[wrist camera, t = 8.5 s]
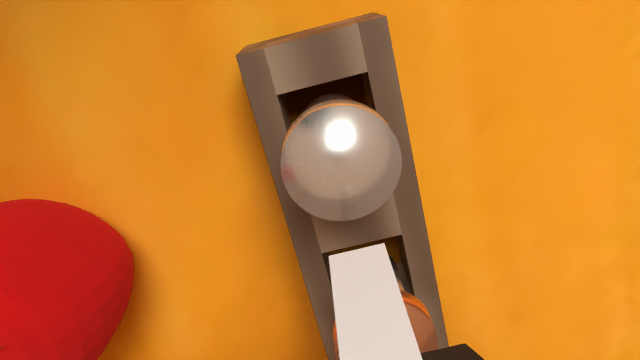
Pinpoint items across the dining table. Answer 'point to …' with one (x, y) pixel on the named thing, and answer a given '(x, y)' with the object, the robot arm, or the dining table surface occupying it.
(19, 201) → the tomato
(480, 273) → the dining table surface
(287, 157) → the cream plug
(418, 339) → the plug mid terracotta
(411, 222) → the brown long block
